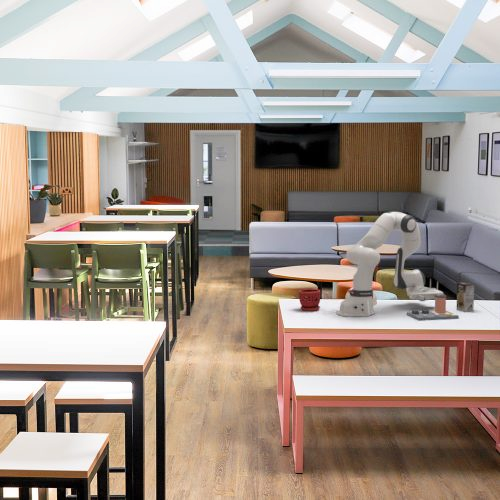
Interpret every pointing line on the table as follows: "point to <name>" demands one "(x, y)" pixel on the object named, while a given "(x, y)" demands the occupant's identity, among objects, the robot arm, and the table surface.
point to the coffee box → (465, 296)
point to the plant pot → (309, 299)
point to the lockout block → (440, 303)
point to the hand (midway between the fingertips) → (431, 297)
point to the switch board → (431, 315)
